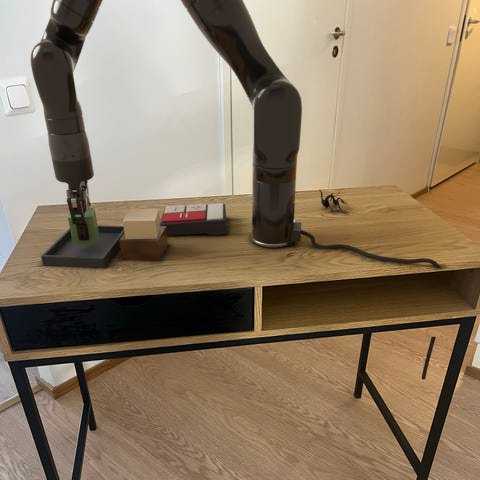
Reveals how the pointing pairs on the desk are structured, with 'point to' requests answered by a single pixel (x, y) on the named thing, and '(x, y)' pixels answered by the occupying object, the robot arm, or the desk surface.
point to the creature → (326, 201)
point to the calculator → (195, 219)
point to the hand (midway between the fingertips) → (85, 234)
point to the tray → (85, 249)
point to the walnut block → (144, 247)
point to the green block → (91, 228)
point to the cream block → (142, 224)
